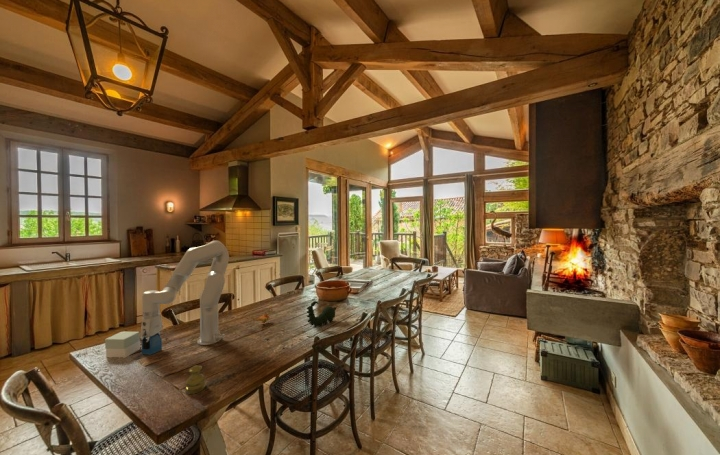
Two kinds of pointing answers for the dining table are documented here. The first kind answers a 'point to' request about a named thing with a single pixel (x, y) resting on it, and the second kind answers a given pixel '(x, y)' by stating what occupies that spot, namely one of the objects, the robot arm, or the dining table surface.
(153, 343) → the perfume bottle
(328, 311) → the toy figurine
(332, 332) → the dining table surface
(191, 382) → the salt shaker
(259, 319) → the magic lamp
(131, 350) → the bottom block
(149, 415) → the dining table surface
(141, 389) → the dining table surface
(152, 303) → the robot arm
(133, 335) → the top block
